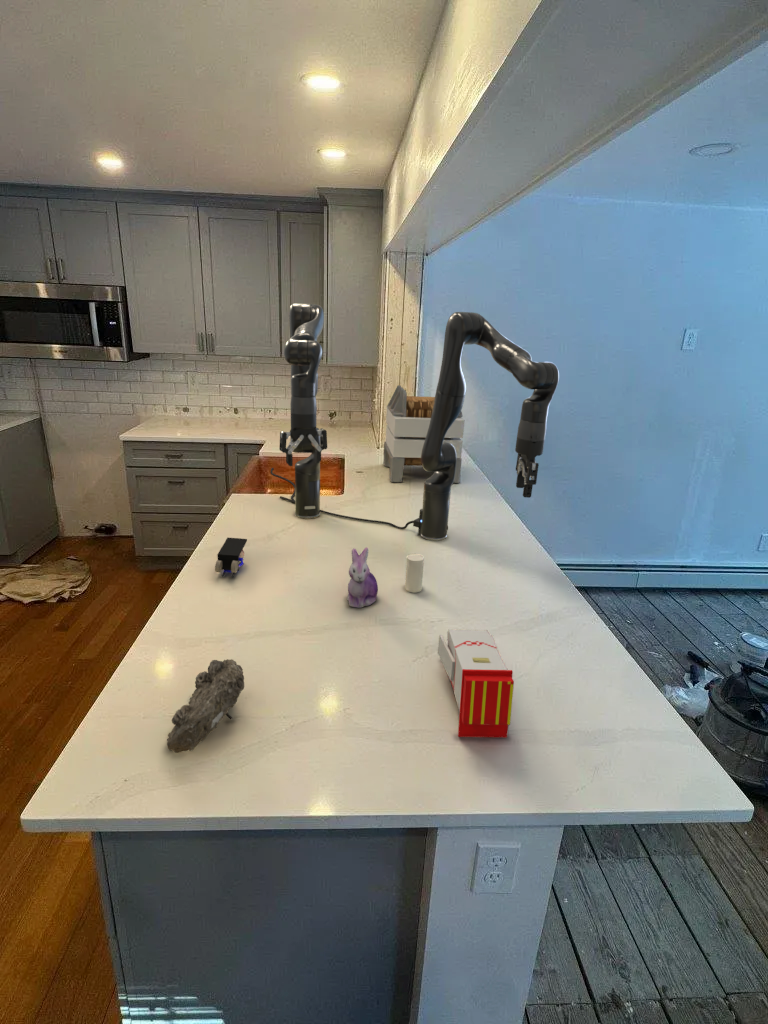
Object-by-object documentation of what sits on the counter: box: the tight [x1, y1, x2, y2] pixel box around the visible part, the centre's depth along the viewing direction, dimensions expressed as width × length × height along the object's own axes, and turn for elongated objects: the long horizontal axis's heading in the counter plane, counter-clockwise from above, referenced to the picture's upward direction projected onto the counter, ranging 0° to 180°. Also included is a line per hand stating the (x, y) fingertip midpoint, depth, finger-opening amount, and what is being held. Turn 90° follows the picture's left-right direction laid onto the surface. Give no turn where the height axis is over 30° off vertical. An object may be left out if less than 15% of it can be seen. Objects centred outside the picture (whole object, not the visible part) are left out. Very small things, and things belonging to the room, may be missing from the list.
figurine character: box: [214, 537, 248, 578], centre depth 166 cm, size 7×8×15 cm
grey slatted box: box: [383, 384, 465, 484], centre depth 268 cm, size 34×33×41 cm
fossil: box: [166, 658, 245, 754], centre depth 106 cm, size 22×10×15 cm
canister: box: [404, 553, 425, 593], centre depth 160 cm, size 5×5×10 cm
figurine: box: [346, 546, 379, 609], centre depth 151 cm, size 9×10×15 cm
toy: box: [437, 628, 515, 738], centre depth 117 cm, size 12×13×30 cm
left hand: (303, 464), depth 171 cm, fingers open, 8 cm apart
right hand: (523, 492), depth 162 cm, fingers open, 8 cm apart
